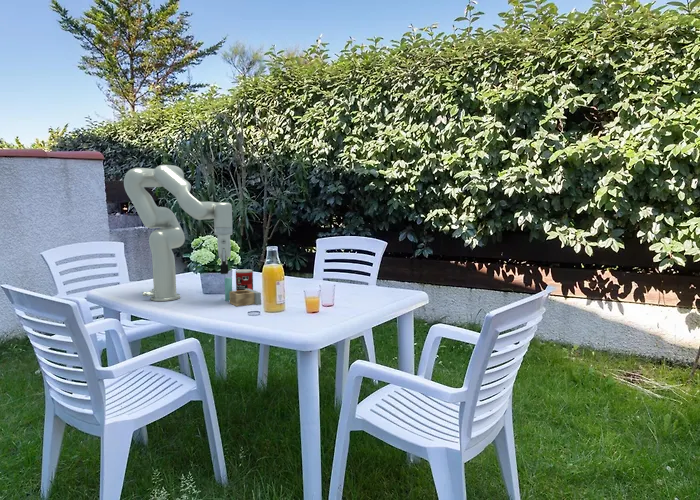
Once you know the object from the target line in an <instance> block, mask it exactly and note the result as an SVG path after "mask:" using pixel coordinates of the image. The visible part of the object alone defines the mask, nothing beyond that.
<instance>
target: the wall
mask: <svg viewBox="0 0 700 500" xmlns="http://www.w3.org/2000/svg"><path fill="white" fill-rule="evenodd" d="M245 290H249V291H251V292H254V296H255V304H254V305H256V306H257V305H262V296H261V295H262V292H260V291H256V290H254V289H253V290H252V289H245Z"/></svg>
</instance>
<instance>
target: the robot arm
mask: <svg viewBox="0 0 700 500" xmlns="http://www.w3.org/2000/svg"><path fill="white" fill-rule="evenodd" d="M123 187H124V190H125V193H126V194H127V196H128V198H129V199H130V201H131V202H132V204H133V206H134V208H135V211H136V212H137V215H138V216H139V218H140V220H141V222H142V224H143V225H144V227H145V228H147V229H155V230H153V231H152V232H151V233H150V235H149V238H148V244H149V247H150V248H149V249H150V251H151V262H152V279H153V284H152V285H153V288H151V290H149V291H143V292H142V297H150V301H153V302H167V301H175V300H178V299H180V298H181V295H180V294H179V293H177V277H176V276H177V275H176V261H175V259H176V258H175V254H174V252H173V249H178V248H180V247H182V246H183V245H184V243H185V240H186V238H185V232H184V231H183V228H182V227H181V225H180V222H179V221H178V219H177V217H176V215H175V213H174V212H173V211H172V210H171V208H168V207H166V206H158V205H157V204H156V202H155V200H154V198H153V197H152V195H151V194H150V193H149V192H148V191H147V190H146V188H160V187H161V188H162V187H163V188H164V189H166V190H167V191H168V192H169V193H171V194H172V195H173V196H174V197H175V198H176V202H177V203H178V205H179V207H180V208H181V210H183V211H184V212H185V213H187V214H188V215H189V216H190V217H192V218H193V219H194V220H197V221H201V220H212V219H213V225H214V226H213V227H214V230H213V232H214V233H213V234H214V236H217V253H218V258H219V259H220V264H219V268H220V272H219V273H220V274H221V275H228V274H229V264H228V258H229V259H231V256H232V254H231V253H232V252H231V250H232V249H231V245H232V244H231V243H232V242H231V236H232V235H233V205H232V204H231V202H224V201H223V202H217V201H216V202H215V201H200V200H198V199H197V198H196V197H195V196H193V194H191V189H192V185H191V183H190V182H189V181H188V180H187V179H185V173H184V170H183V169H182V168H180V167H179V166H178V165H172V164H171V165H170V164H160V165H158V166H156V167H155V168H148V167H133V168H131V169H129V170H127V172H126V173H125V175H124V178H123Z"/></svg>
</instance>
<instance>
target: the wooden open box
mask: <svg viewBox="0 0 700 500" xmlns="http://www.w3.org/2000/svg"><path fill="white" fill-rule="evenodd" d="M229 294H230V301H229V304H230V305H233V306H235V307H243V306H250V305H256V304H255V296H254V292H251V291H249V290H240V291H236V290H232V292H229Z"/></svg>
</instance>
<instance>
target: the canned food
mask: <svg viewBox="0 0 700 500" xmlns="http://www.w3.org/2000/svg"><path fill="white" fill-rule="evenodd" d="M235 287H236V288H235V291H240V290H245V289H252V290H254V271H253V269H249V268H248V269H247V268H243V269H237V270H235Z"/></svg>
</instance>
